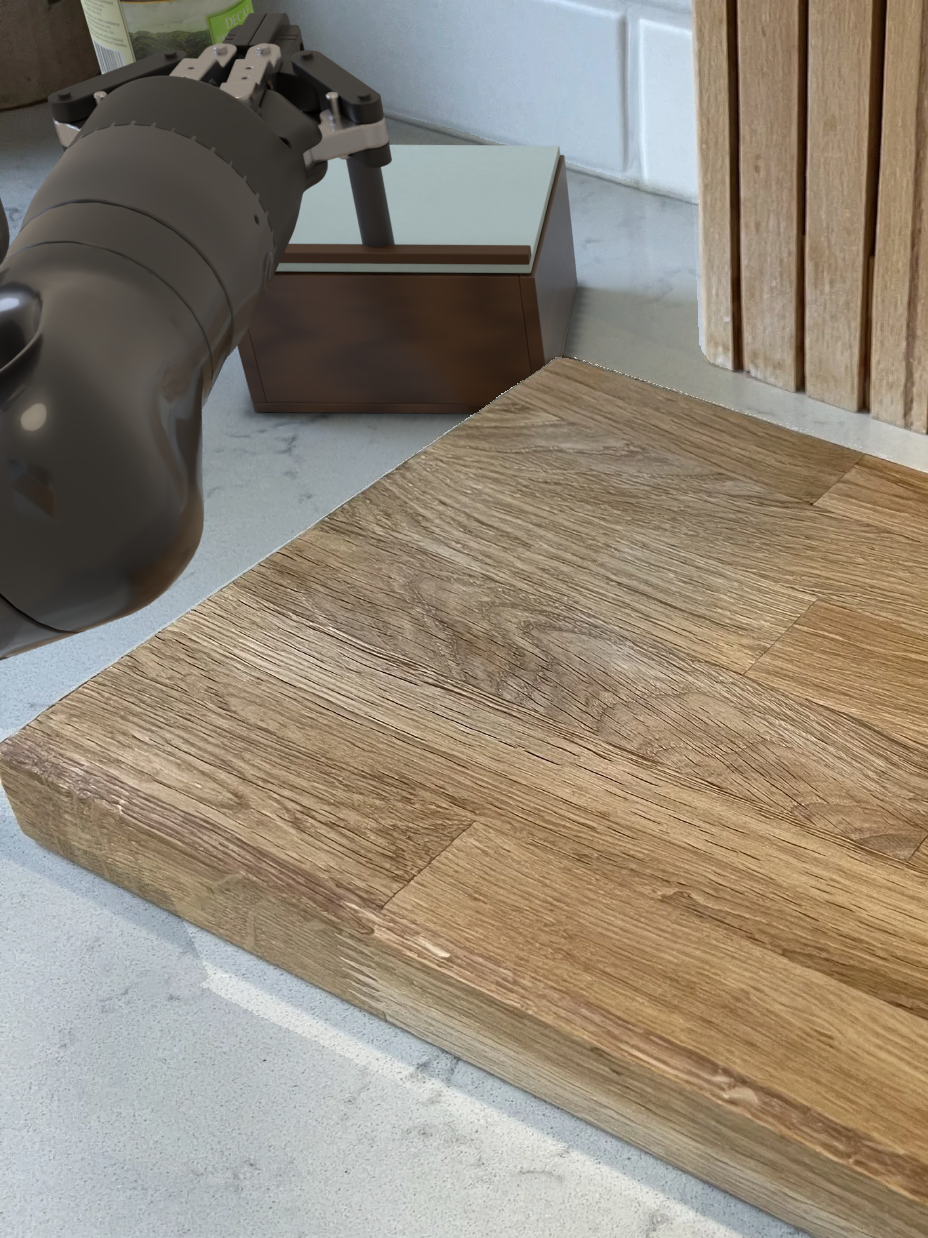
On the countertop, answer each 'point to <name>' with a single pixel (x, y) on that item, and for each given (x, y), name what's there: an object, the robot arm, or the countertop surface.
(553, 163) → the glass door
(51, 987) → the countertop surface
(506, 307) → the case
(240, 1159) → the countertop surface
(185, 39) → the coffee can
